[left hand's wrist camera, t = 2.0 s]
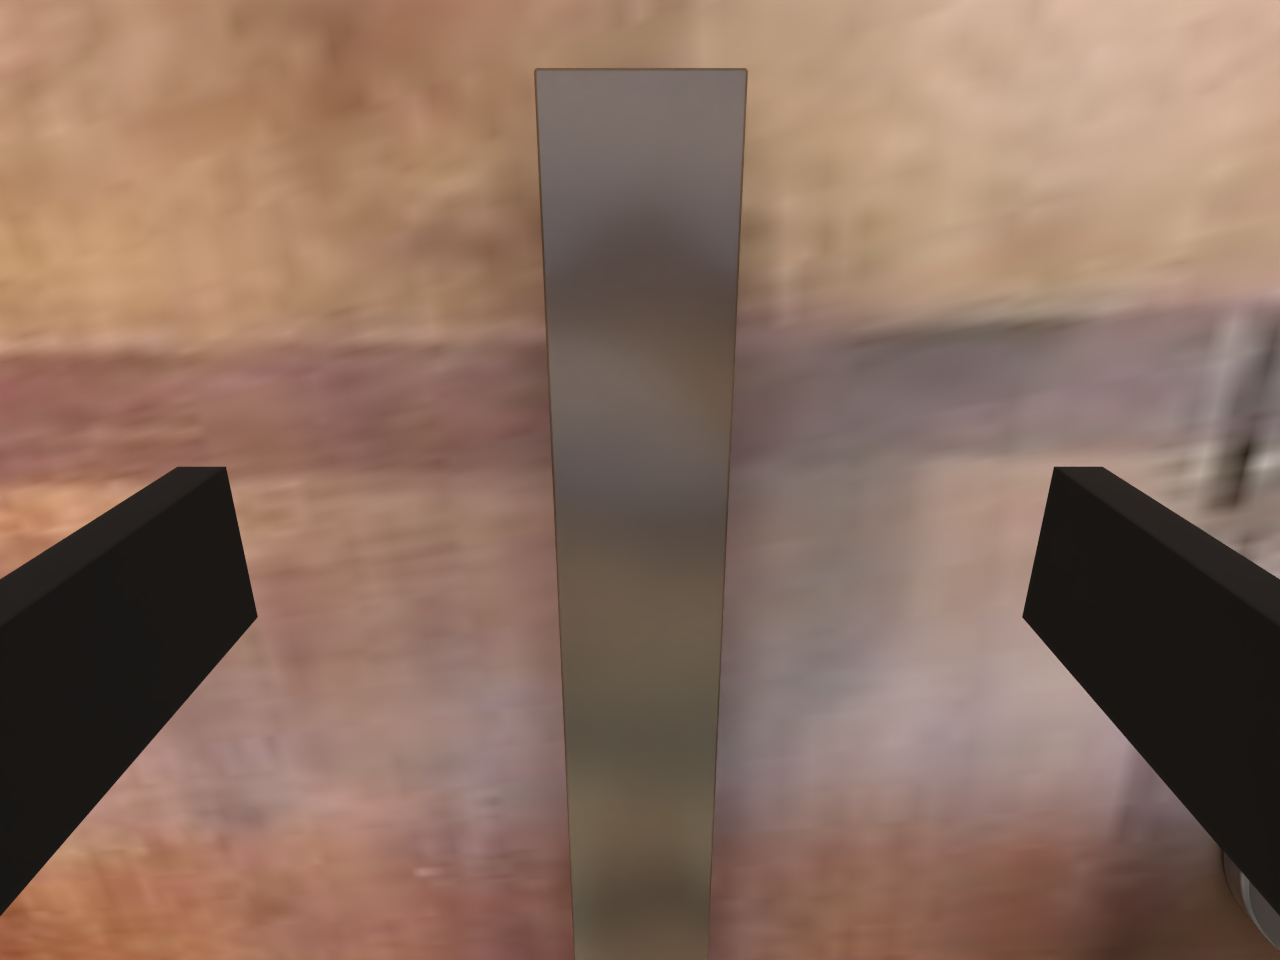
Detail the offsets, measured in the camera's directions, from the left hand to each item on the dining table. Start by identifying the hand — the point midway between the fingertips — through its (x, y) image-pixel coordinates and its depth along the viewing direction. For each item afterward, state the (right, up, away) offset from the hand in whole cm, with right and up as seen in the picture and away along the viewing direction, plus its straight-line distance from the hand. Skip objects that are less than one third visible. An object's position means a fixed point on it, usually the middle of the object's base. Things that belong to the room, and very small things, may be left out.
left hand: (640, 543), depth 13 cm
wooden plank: (0, -15, +22) cm, 27 cm away
